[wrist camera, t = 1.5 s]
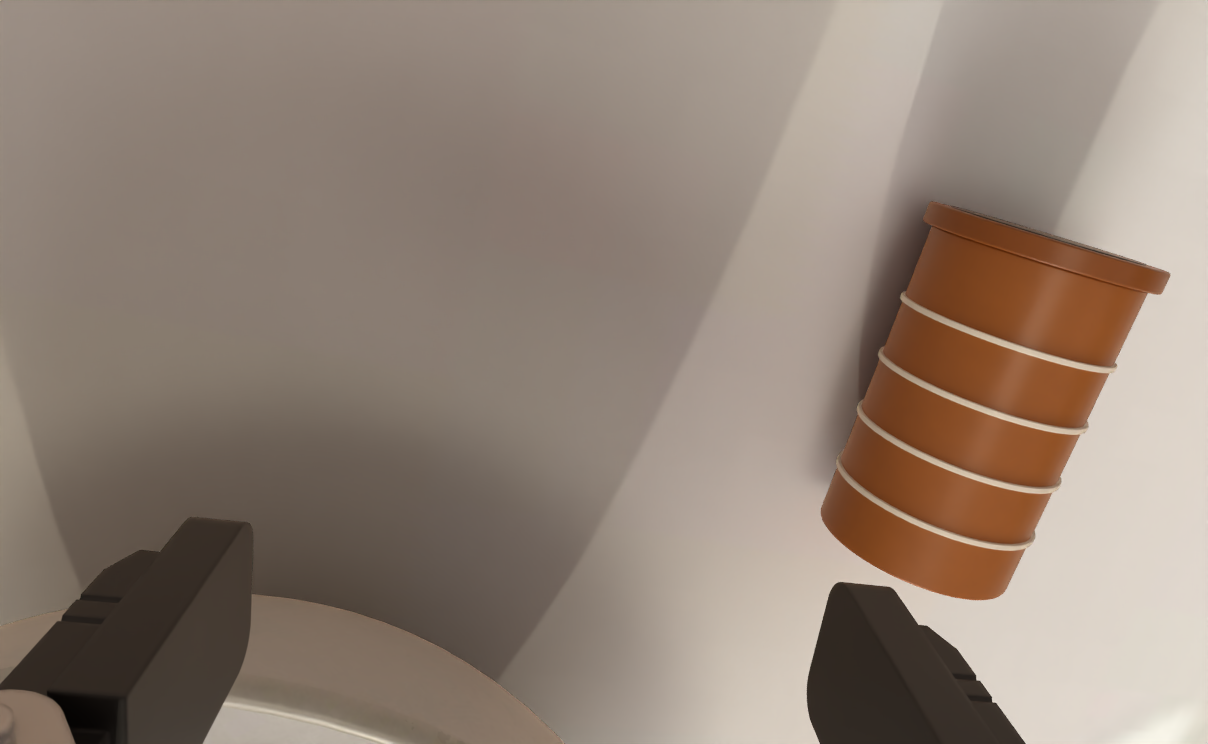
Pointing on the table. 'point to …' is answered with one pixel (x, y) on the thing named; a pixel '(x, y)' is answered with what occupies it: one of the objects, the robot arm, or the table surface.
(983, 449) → the brown striped cylinder
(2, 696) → the robot arm
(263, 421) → the table surface
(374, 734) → the decorative bowl
